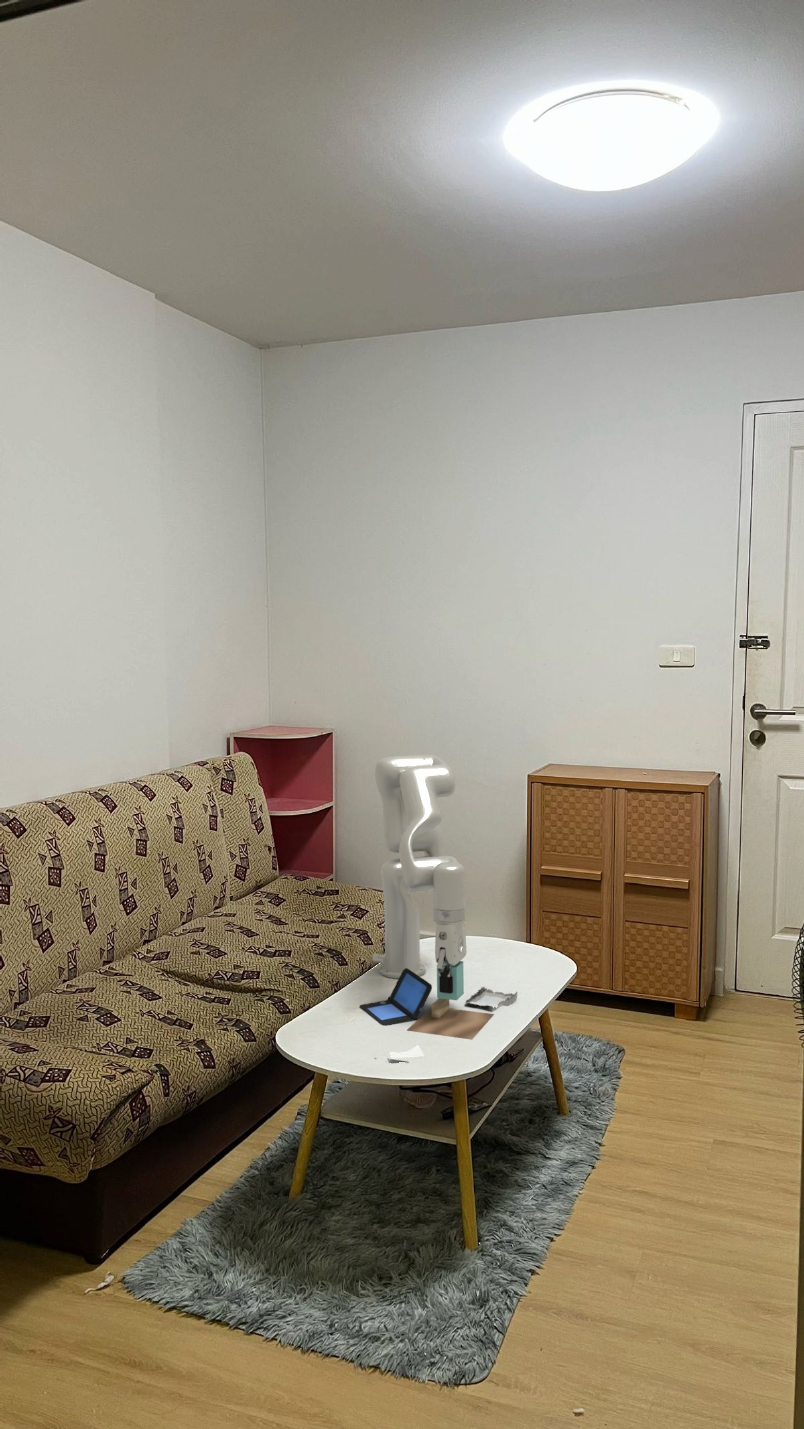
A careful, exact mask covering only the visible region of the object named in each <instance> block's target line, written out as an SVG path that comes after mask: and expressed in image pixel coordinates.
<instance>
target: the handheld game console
mask: <svg viewBox="0 0 804 1429" xmlns="http://www.w3.org/2000/svg"><path fill="white" fill-rule="evenodd" d="M397 979H398V980H397V981H396V983H395V985H394V988H393V990H392V991H391V993H390V996H388V997H387V999H386V1000H380V1001H375V1002H369V1003H362V1004H360V1005H359V1007H358V1008H359V1009H360V1010H362V1011H363V1012H365V1013H366V1014H367V1015H368V1016H369V1017H371V1019H373V1020H374V1021H375V1022H377V1023H378V1024H379V1025H380V1026H383V1027H384V1026H393V1025H398V1024H403V1023H408V1022H416V1021H417V1020H418V1019H419V1018H418V1017H419V1016H420V1014H421V1012H422V1010H423V1008H424V1006H425V1004H426V1002H427V1000H428V998H429V996H430V995H431V992H432V990H433V985H432V984H431V983H430V982H428V981H427V980H426V979H424V978H422V977H421V976H418V975H417V974H415V973H414V972H412V971H411V970H409V969H408V968H405V969H404V970H403V972H402V973H401V975H400V977H399V978H397Z"/></svg>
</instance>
